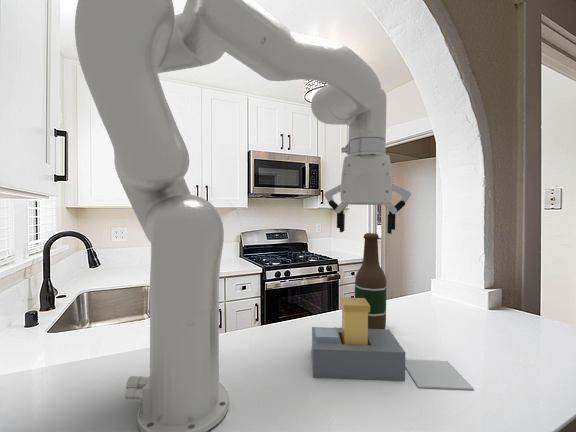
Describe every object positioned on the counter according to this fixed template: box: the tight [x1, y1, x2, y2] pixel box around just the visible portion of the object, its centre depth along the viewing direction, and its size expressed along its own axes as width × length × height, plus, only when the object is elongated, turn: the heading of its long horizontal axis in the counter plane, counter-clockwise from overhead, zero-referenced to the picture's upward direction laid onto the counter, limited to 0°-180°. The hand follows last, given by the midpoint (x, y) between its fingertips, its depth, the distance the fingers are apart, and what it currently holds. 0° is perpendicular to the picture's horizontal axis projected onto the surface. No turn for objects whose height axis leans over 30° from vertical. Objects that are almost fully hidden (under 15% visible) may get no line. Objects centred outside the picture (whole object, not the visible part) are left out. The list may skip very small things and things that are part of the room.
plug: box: [340, 297, 370, 345], centre depth 57 cm, size 5×5×12 cm
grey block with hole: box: [311, 326, 406, 382], centre depth 57 cm, size 16×10×6 cm, turn 87°
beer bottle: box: [354, 232, 387, 329], centre depth 74 cm, size 8×8×24 cm
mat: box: [405, 359, 475, 391], centre depth 53 cm, size 9×9×1 cm
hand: (365, 232), depth 62 cm, fingers open, 9 cm apart
